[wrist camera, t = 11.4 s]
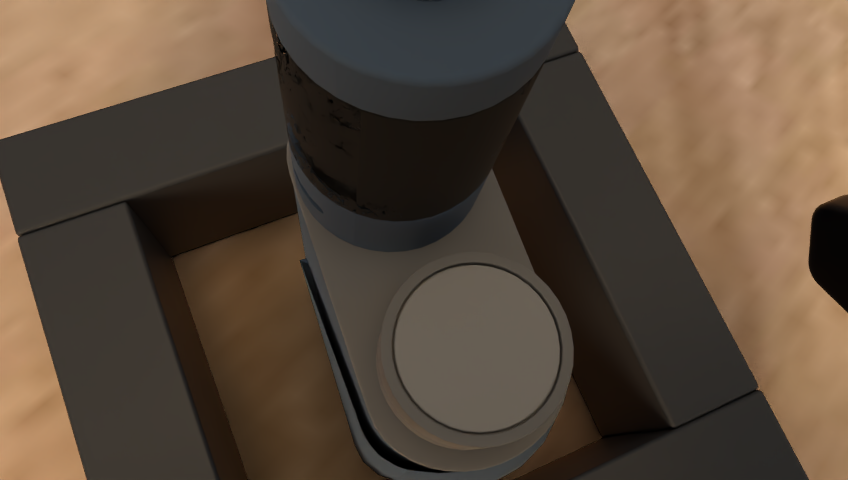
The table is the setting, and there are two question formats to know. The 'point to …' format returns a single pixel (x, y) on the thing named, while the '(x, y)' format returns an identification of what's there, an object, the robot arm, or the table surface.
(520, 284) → the vaping device
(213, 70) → the table surface
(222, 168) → the frame
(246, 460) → the table surface
